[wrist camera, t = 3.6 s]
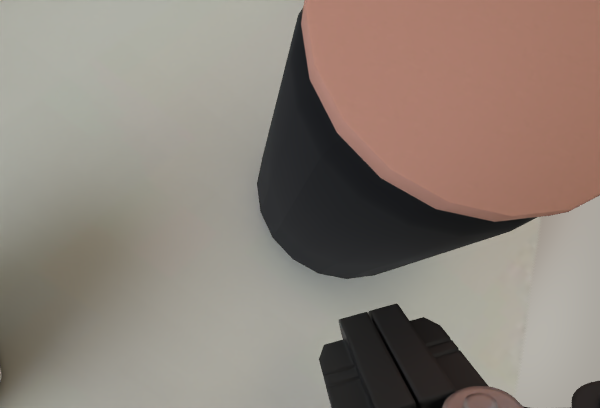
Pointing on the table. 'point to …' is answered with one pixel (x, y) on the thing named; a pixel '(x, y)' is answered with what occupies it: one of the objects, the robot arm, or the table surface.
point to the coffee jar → (429, 127)
